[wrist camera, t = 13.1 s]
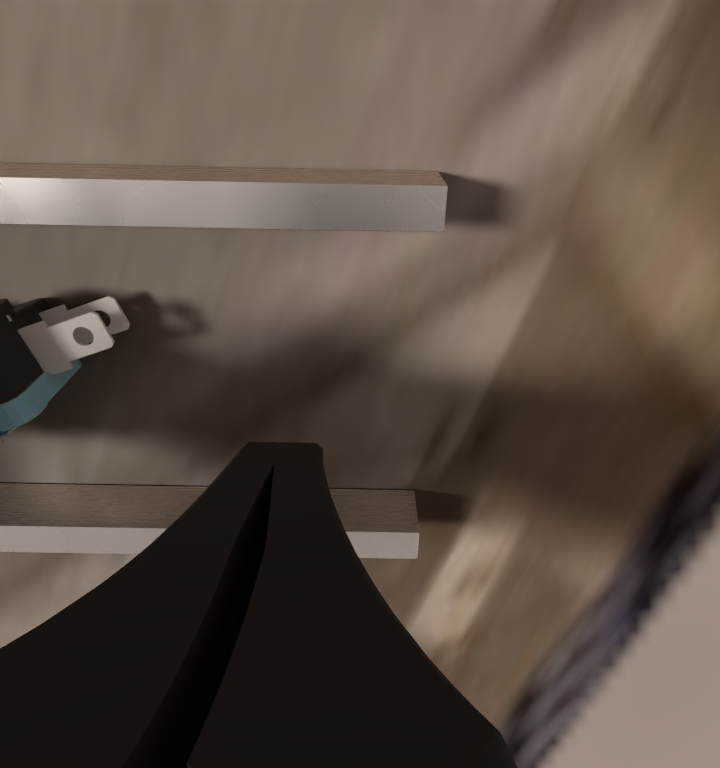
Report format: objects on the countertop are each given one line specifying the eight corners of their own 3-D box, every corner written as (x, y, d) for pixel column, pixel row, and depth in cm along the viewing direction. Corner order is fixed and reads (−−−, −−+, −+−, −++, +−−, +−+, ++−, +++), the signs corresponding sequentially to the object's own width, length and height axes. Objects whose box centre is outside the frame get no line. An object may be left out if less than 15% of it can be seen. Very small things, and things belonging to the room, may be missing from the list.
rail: (412, 514, 16) (431, 687, 12) (-216, 504, 16) (-438, 673, 12) (438, 171, 12) (481, 234, 8) (-400, 155, 12) (-845, 209, 8)
